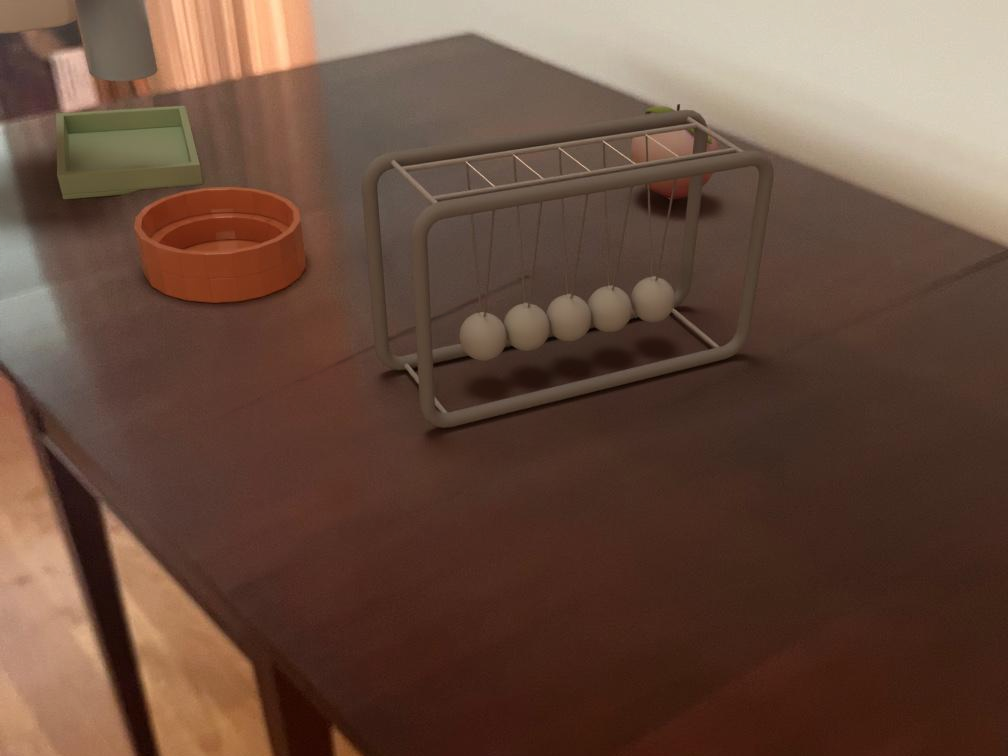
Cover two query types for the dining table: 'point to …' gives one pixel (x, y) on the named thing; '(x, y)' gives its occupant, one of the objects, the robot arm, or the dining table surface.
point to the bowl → (220, 244)
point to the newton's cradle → (566, 312)
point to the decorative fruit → (669, 154)
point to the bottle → (117, 39)
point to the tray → (125, 151)
